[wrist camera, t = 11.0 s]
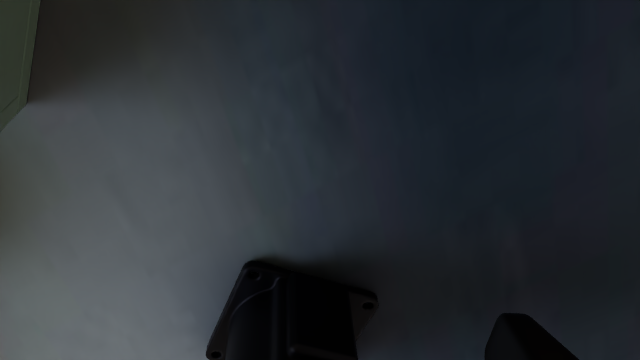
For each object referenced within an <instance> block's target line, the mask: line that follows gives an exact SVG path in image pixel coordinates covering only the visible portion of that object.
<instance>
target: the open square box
mask: <svg viewBox="0 0 640 360" xmlns="http://www.w3.org/2000/svg"><path fill="white" fill-rule="evenodd" d="M39 8H40V0H0V131H1V130H2V129H3V128H4V127H5V126H6V125H7V124H8V123H9V122H10V121H11V120H12V119H13V118H14V117H15V116H16V114H18V113H19V112H20V110H21V109H22V108H23V107H24V106H25V105H26V102H27V95H28V88H29V81H30V73H31V66H32V59H33V51H34V44H35V37H36V29H37V22H38V15H39Z"/></svg>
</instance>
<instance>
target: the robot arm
mask: <svg viewBox="0 0 640 360" xmlns="http://www.w3.org/2000/svg"><path fill="white" fill-rule="evenodd" d="M252 271H256V272H258V273H255V274H253V273H250V272H252ZM366 302H370V303H366ZM378 306H379V305H378V300H377V296H376V295H375V294H374V293H372V292H369V291H365V290H362V289H358V288H354V287H351V286H347V285H343V284H340V283H336V282H332V281H329V280H325V279H321V278H318V277H314V276H310V275H307V274H303V273H299V272H296V271H292V270H288V269H285V268H281V267H277V266H273V265H270V264H266V263H262V262H259V261H249V262H247V263H245V265H244V266H243V268H242V270H241V272H240V274H239V276H238V279H237V281H236V283H235V285H234V288H233V290H232V292H231V294H230V296H229V299H228V301H227V303H226V305H225V308H224V310H223V312H222V314H221V316H220V319H219V321H218V323H217V325H216V327H215V330H214V332H213V334H212V336H211V339H210V341H209V343H208V345H207V351H206V357H207V358H208V359H209V360H358V356H357V349H356V340H357V339H358V337H359V336H360V334H361V333H362V331H363V330H364V328H365V327H366V325H367V324H368V322H369V321H370V319H371V318H372V316H373V314H374V313H375V311H376V310H377V308H378ZM485 360H579V359H578V358H577V357H576V356H574V355H573V354H572V353H571V352H570V351H569V350H568V349H567V348H565V347H564V346H563V345H562V344H561V343H560V342H559V341H558V340H556V339H555V338H554V337H553V336H552V335H551V334H550V333H548V332H547V331H546V330H545V329H544V328H543V327H542V326H541V325H539V324H538V323H537V322H536V321H535V320H534V319H533V318H531V317H530V316H528V315H526V314H519V313H503V314H501V315H500V316H499V317H498V318H497V320H496V323H495V325H494V327H493V330H492V332H491V335H490V337H489V340H488V342H487V345H486V348H485Z"/></svg>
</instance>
